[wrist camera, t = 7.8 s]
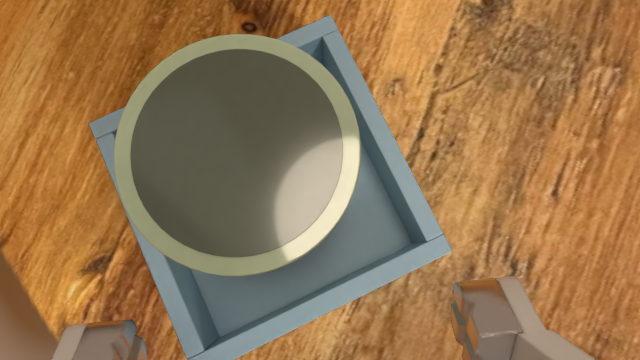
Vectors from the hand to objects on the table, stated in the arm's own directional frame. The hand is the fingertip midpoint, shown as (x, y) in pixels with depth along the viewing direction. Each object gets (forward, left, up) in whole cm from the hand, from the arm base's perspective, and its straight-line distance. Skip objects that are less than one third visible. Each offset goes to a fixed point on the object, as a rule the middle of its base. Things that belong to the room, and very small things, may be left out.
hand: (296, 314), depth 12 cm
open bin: (+5, 0, -11) cm, 12 cm away
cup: (+5, 0, -10) cm, 11 cm away
